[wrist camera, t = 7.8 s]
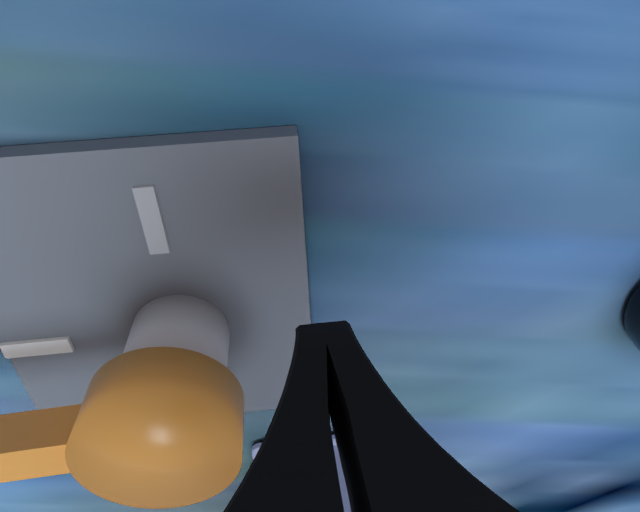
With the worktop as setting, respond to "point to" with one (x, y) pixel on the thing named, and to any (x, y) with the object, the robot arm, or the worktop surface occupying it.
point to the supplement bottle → (633, 317)
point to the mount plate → (153, 256)
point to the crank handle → (138, 431)
